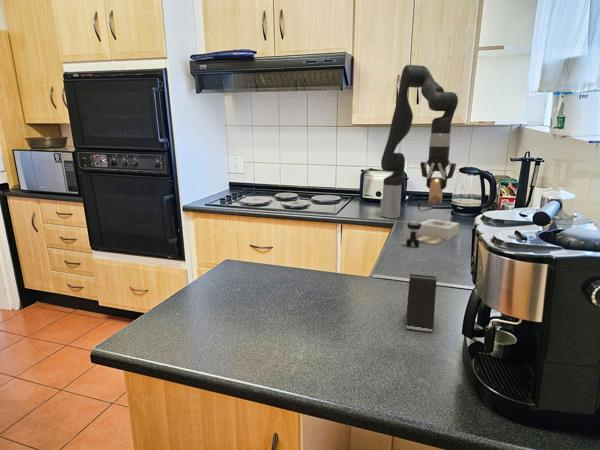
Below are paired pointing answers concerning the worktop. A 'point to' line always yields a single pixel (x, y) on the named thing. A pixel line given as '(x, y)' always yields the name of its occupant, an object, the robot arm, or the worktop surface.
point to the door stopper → (421, 301)
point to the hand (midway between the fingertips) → (436, 188)
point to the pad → (429, 240)
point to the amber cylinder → (435, 190)
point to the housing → (438, 229)
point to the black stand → (413, 234)
